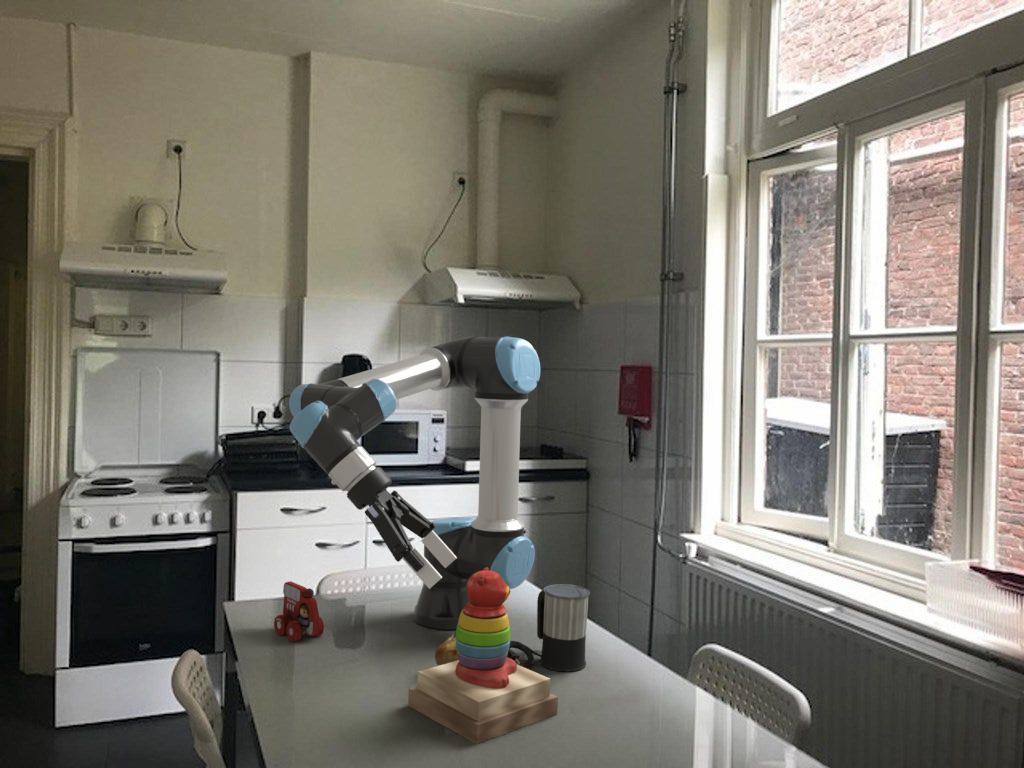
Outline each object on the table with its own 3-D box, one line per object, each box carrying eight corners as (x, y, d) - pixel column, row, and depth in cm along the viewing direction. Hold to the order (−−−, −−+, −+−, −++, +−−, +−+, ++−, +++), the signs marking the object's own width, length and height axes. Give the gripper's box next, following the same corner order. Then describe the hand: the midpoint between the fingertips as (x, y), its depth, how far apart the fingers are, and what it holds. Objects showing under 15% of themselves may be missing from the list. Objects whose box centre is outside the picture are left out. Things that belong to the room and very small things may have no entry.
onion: (428, 667, 160) (430, 626, 160) (468, 663, 163) (470, 623, 163) (440, 682, 153) (442, 639, 153) (481, 678, 156) (483, 635, 156)
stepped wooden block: (487, 681, 154) (488, 649, 154) (557, 714, 141) (558, 679, 141) (408, 705, 142) (409, 671, 142) (476, 744, 129) (478, 706, 128)
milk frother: (596, 665, 165) (599, 591, 165) (542, 685, 154) (546, 605, 153) (543, 646, 175) (546, 576, 174) (489, 663, 164) (492, 588, 163)
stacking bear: (505, 690, 135) (510, 581, 135) (446, 682, 137) (450, 575, 137) (519, 667, 146) (523, 566, 145) (463, 660, 148) (467, 561, 147)
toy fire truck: (300, 646, 168) (302, 595, 168) (269, 631, 177) (271, 582, 177) (329, 639, 173) (331, 590, 173) (298, 624, 182) (300, 577, 182)
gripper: (366, 483, 155) (442, 568, 154) (321, 506, 130) (411, 608, 129) (395, 456, 154) (471, 542, 153) (355, 474, 130) (446, 576, 128)
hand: (444, 572), depth 141 cm, fingers open, 13 cm apart
